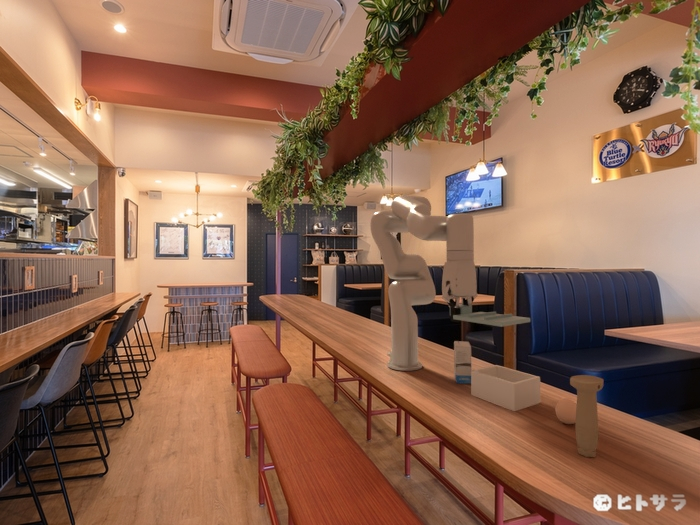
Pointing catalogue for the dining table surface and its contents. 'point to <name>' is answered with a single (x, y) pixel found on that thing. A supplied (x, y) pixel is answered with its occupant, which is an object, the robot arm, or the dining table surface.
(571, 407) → the egg
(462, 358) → the ink box
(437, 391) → the dining table surface
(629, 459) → the dining table surface
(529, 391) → the tub
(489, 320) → the lid
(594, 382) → the handle
